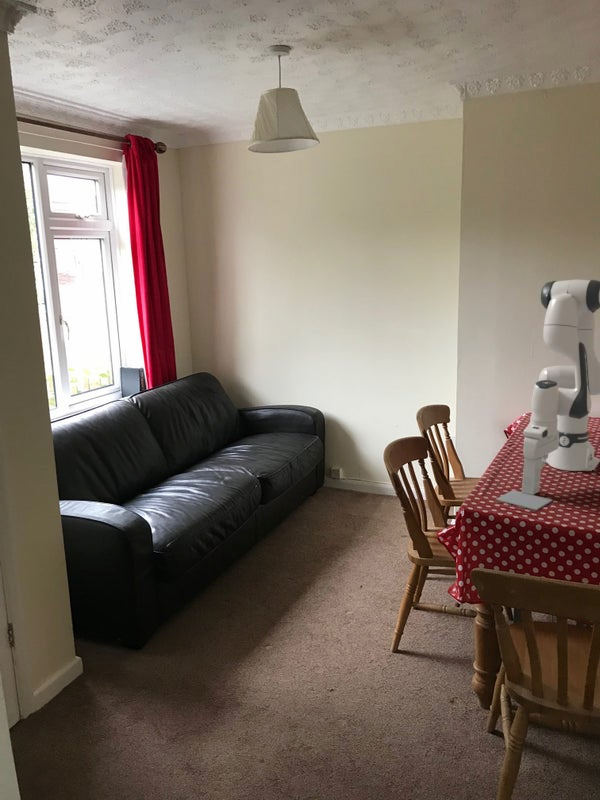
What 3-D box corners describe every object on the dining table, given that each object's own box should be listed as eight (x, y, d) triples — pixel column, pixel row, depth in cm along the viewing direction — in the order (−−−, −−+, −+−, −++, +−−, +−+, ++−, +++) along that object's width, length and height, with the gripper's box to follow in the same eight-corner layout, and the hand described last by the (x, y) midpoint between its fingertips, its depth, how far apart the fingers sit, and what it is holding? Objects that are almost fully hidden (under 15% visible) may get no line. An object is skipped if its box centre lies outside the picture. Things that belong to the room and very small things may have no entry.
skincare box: (526, 489, 231) (530, 455, 230) (539, 491, 229) (542, 457, 227) (520, 492, 227) (524, 458, 225) (533, 495, 224) (536, 460, 223)
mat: (512, 491, 230) (512, 490, 230) (552, 501, 220) (552, 499, 220) (495, 500, 221) (495, 499, 221) (535, 510, 212) (536, 509, 212)
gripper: (547, 421, 238) (545, 458, 241) (521, 431, 224) (518, 471, 227) (565, 424, 234) (562, 462, 237) (539, 435, 220) (536, 475, 222)
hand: (540, 466), depth 232 cm, fingers closed
